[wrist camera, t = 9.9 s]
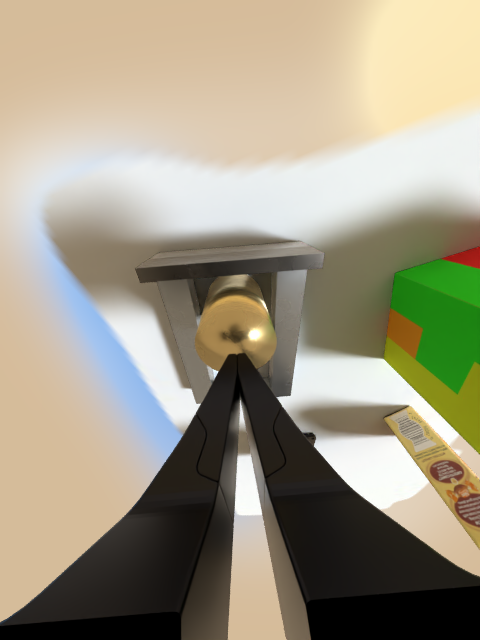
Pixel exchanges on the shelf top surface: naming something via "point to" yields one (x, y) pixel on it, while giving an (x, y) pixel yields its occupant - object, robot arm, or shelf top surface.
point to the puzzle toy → (440, 337)
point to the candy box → (440, 468)
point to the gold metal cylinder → (235, 323)
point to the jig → (186, 265)
